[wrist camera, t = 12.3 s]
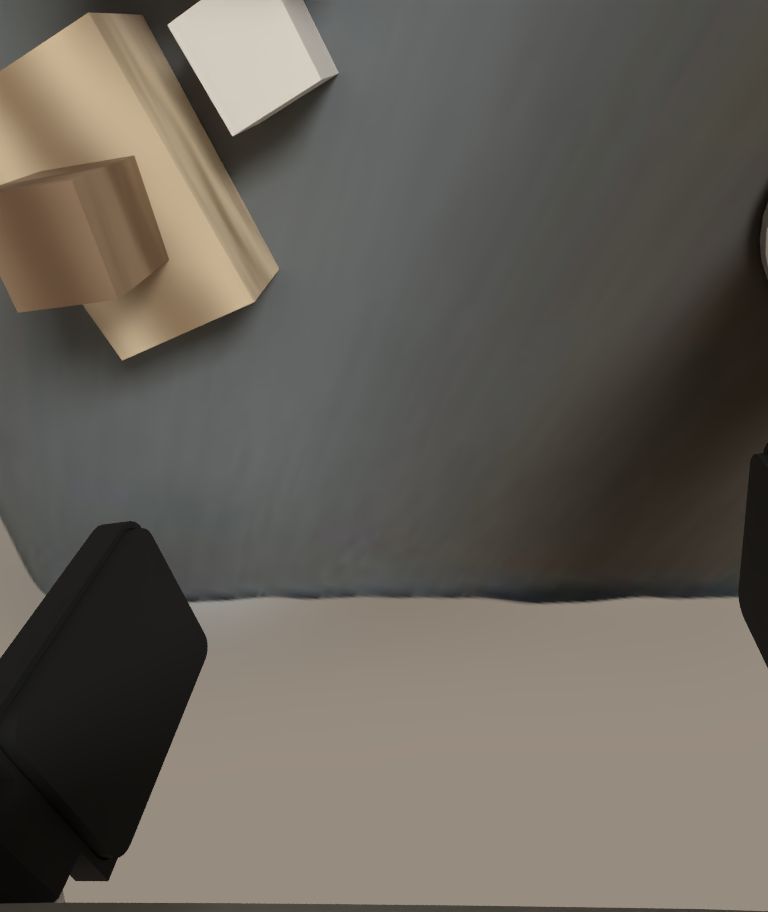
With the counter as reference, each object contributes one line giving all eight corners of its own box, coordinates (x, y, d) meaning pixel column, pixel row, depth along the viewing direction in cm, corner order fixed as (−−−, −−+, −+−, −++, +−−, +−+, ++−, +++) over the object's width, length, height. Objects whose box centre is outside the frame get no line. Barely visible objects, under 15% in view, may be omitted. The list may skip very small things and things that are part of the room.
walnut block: (134, 155, 31) (71, 179, 26) (168, 259, 34) (118, 300, 29) (40, 171, 32) (-38, 198, 27) (81, 271, 34) (17, 312, 29)
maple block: (145, 14, 33) (88, 12, 28) (280, 267, 39) (254, 302, 34) (15, 98, 36) (-57, 109, 31) (162, 321, 42) (122, 360, 37)
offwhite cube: (286, -35, 31) (259, -44, 27) (338, 73, 33) (321, 79, 29) (204, 25, 33) (167, 24, 28) (259, 123, 35) (232, 136, 31)
